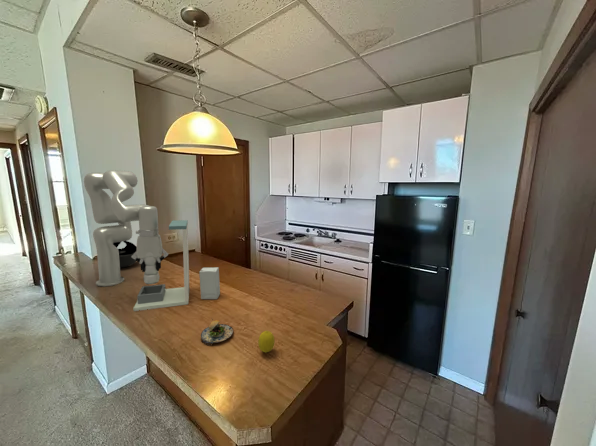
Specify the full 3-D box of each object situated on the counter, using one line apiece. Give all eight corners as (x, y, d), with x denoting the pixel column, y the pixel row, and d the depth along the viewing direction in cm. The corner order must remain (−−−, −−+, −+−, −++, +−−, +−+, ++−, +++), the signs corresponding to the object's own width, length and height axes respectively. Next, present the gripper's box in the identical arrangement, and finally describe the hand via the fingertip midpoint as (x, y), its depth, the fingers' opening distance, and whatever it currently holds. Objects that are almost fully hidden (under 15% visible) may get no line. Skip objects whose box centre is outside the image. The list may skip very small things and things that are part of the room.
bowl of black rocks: (109, 263, 169) (107, 236, 166) (143, 260, 178) (142, 235, 175) (100, 273, 151) (98, 243, 148) (139, 269, 160) (137, 241, 157)
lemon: (258, 347, 88) (259, 326, 87) (274, 347, 89) (274, 326, 88) (257, 358, 83) (257, 335, 82) (274, 357, 83) (274, 335, 82)
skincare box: (220, 294, 129) (220, 267, 127) (216, 299, 123) (216, 271, 121) (203, 294, 129) (203, 266, 126) (199, 299, 123) (199, 270, 120)
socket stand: (141, 294, 126) (137, 220, 120) (189, 289, 134) (187, 220, 128) (133, 311, 109) (128, 227, 104) (188, 304, 117) (186, 225, 112)
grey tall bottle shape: (152, 286, 115) (151, 244, 112) (140, 284, 116) (138, 243, 113) (162, 281, 121) (161, 241, 118) (150, 280, 122) (149, 240, 119)
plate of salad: (210, 351, 86) (210, 331, 85) (194, 336, 94) (194, 317, 93) (239, 336, 94) (239, 318, 93) (223, 324, 102) (223, 307, 101)
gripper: (125, 235, 108) (127, 275, 111) (169, 233, 115) (170, 271, 117) (129, 232, 115) (131, 269, 118) (170, 230, 121) (172, 266, 124)
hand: (151, 270), depth 117 cm, fingers closed on grey tall bottle shape, 5 cm apart
